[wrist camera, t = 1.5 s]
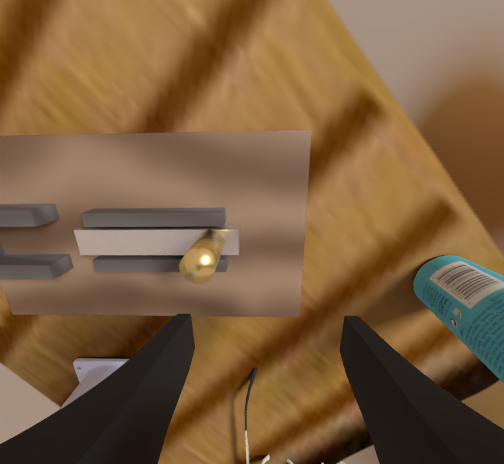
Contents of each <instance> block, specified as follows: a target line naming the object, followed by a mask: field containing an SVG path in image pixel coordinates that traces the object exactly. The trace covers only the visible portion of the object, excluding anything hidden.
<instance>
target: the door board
mask: <svg viewBox="0 0 504 464" xmlns="http://www.w3.org/2000/svg"><path fill="white" fill-rule="evenodd" d="M310 145H311V130H288V131H236V132H184V133H132V134H80V135H29V136H0V284H1V287H2V289H3V291H4V294H5V296H6V299H7V301H8V303H9V306H10V308H11V311H12V313H13V314H32V315H142V316H176V315H177V314H191V316H253V317H300V306H301V290H302V274H303V257H304V241H305V225H306V209H307V193H308V177H309V161H310ZM231 224H239V227H240V252H239V255H221V257H220V259H219V262H218V265H217V267H216V270H215V273H214V275H213V277H212V278H211V280H209V281H208V282H206V283H204V284H194V283H191V282H189V281H187V280H186V279H185V278H184V277H183V276H182V275H181V273H180V269H179V264H180V261H181V259H182V258H183V257H184V255H80V251H79V248H78V244H77V241H76V237H75V233H74V230H75V229H77V228H80V227H82V226H84V227H186V226H224V225H231Z"/></svg>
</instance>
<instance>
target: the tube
mask: <svg viewBox="0 0 504 464" xmlns="http://www.w3.org/2000/svg"><path fill="white" fill-rule="evenodd" d="M413 289H414V292H415V294H416V296H417V297H418V298H419V299H420V300H421V301H422V302H423V303H424V304H425V305H426V306H427V307H428V308H429V309H430V310H431V311H432V312H433V313H434V314H435V315H436V316H437V317H438V318H439V319H440V320H441V321H442V322H443V323H444V324H445V325H446V326H447V327H448V328H449V329H450V330H451V331H452V332H453V333H454V334H455V335H456V336H457V337H458V338H459V339H460V340H461V341H462V342H463V343H464V344H465V345H466V346H467V347H468V348H469V349H470V350H471V351H472V352H473V353H474V354H475V355H476V356H477V357H478V358H479V359H480V360H481V361H482V362H483V363H484V364H485V365H486V366H487V367H488V368H489V369H490V370H491V371H492V372H493V373H494V374H495V375H496V376H497V377H498V378H499V379H500V380H501V381H502V382H503V383H504V276H502V275H500V274H497V273H495V272H493V271H491V270H488V269H486V268H484V267H482V266H480V265H477V264H475V263H473V262H471V261H468V260H466V259H464V258H461V257H459V256H455V255H444V256H440V257H437V258H435V259H433V260H431V261H429V262H427V263H426V264H424V265H423V266H422V267H421V268H420V270H419V271H418V272H417V274H416V276H415V279H414V282H413Z"/></svg>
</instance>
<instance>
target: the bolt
mask: <svg viewBox="0 0 504 464" xmlns="http://www.w3.org/2000/svg"><path fill="white" fill-rule="evenodd" d="M74 233H75V237H76V241H77V244H78V248H79V251H80V255H184V257H183V258H182V259H181V261H180V264H179V269H180V273H181V275H182V276H183V277H184V278H185V279H186V280H187V281H189V282H191V283H194V284H204V283H206V282H208V281H209V280H211V278H212V277H213V275H214V273H215V270H216V267H217V265H218V262H219V259H220V257H221V255H239V252H240V227H239V224H231V225H224V226H186V227H84V226H82V227H80V228H77V229H75V230H74Z"/></svg>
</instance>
